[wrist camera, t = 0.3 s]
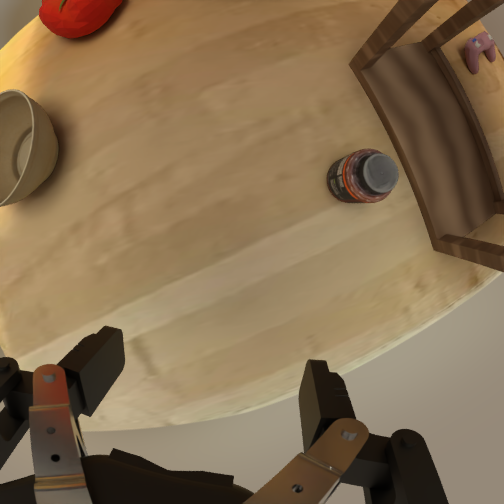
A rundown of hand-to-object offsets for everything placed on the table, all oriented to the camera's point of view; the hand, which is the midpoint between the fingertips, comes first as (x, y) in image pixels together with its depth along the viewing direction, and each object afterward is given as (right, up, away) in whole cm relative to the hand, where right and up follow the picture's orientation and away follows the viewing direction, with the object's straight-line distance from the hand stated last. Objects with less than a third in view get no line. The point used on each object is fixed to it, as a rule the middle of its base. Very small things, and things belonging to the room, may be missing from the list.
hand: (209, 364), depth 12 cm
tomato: (-24, +44, +21) cm, 55 cm away
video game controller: (+43, +41, +22) cm, 63 cm away
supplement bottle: (+14, +14, +26) cm, 33 cm away
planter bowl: (-32, +20, +25) cm, 45 cm away
